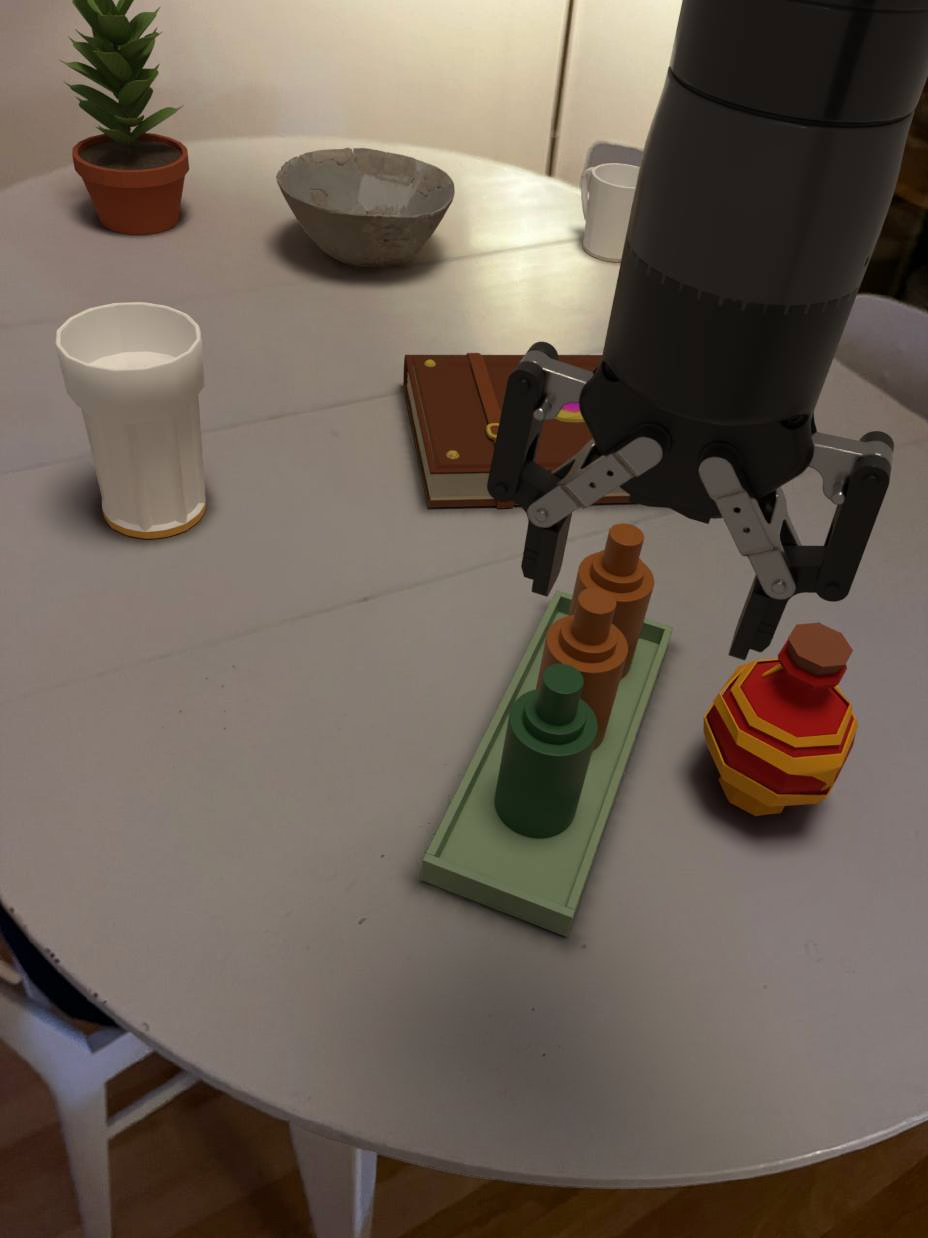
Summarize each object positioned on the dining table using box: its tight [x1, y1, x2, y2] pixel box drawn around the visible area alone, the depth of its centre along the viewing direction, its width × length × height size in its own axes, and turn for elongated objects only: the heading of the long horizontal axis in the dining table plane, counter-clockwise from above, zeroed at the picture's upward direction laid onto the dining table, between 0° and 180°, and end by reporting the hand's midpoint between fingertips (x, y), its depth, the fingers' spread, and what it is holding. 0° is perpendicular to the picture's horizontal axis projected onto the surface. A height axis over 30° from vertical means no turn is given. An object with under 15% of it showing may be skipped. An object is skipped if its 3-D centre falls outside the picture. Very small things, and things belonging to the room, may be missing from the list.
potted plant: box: [57, 0, 190, 236], centre depth 128 cm, size 15×15×30 cm
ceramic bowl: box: [275, 147, 456, 268], centre depth 132 cm, size 22×23×10 cm
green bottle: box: [494, 664, 598, 838], centre depth 68 cm, size 6×6×13 cm
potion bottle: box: [702, 622, 859, 817], centre depth 70 cm, size 10×10×15 cm
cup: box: [54, 301, 207, 540], centre depth 87 cm, size 11×11×17 cm
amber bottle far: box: [568, 522, 655, 680], centre depth 79 cm, size 6×6×13 cm
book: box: [402, 352, 632, 509], centre depth 106 cm, size 23×32×5 cm
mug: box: [580, 162, 640, 263], centre depth 141 cm, size 11×9×10 cm
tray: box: [420, 589, 674, 937], centre depth 76 cm, size 29×10×2 cm, turn 159°
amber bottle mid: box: [536, 588, 628, 750], centre depth 73 cm, size 6×6×13 cm
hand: (641, 614), depth 43 cm, fingers open, 8 cm apart
